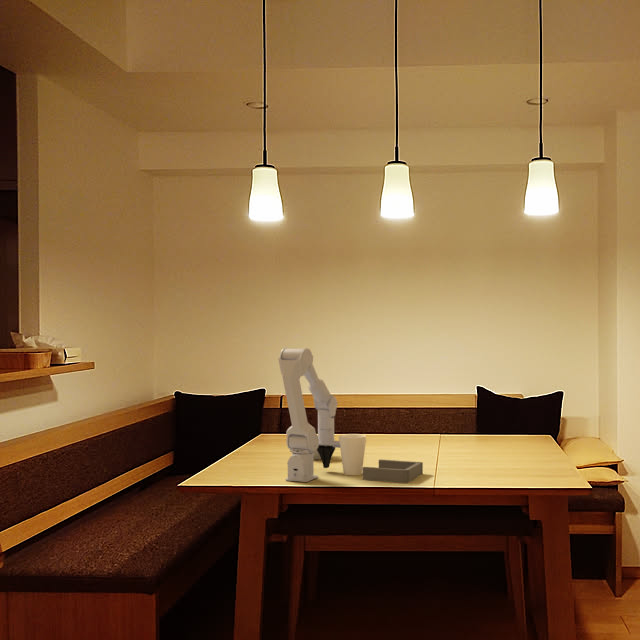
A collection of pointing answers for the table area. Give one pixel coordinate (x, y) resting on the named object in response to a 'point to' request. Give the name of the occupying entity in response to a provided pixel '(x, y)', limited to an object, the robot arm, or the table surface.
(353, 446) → the foam cup
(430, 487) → the table surface
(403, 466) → the bay
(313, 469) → the robot arm
